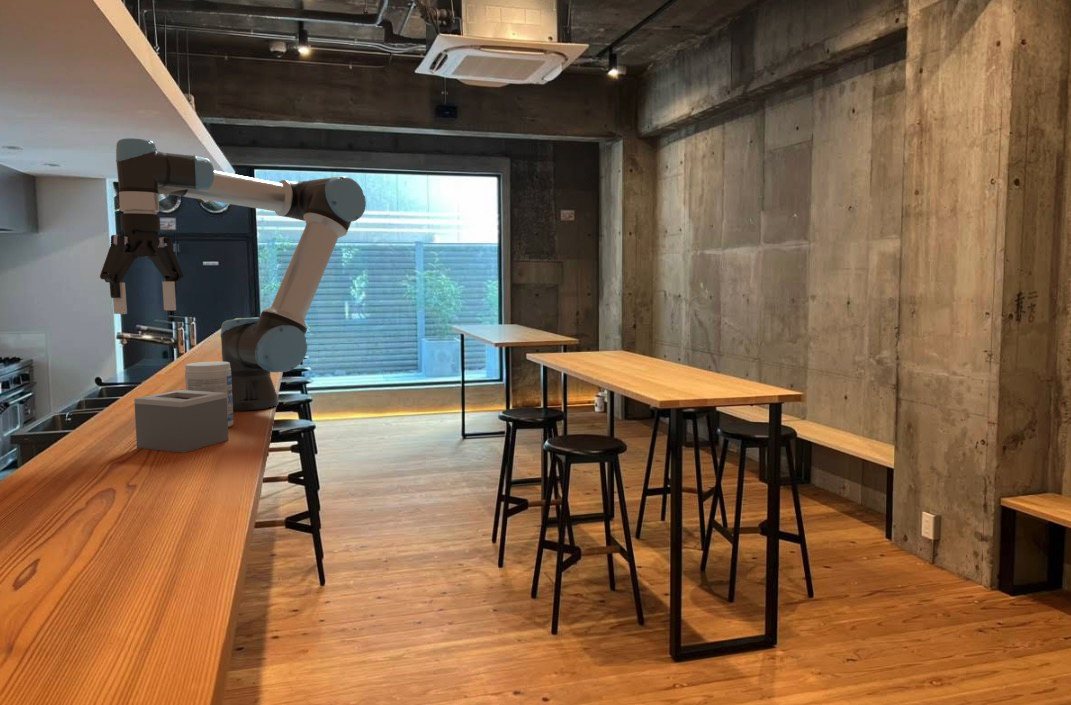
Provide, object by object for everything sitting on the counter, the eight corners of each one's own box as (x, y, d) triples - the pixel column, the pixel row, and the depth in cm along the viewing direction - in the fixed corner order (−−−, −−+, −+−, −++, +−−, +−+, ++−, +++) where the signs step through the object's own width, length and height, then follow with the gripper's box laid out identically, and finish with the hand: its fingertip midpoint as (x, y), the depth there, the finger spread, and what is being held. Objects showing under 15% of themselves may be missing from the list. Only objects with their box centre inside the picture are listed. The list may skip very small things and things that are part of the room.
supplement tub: (240, 427, 168) (237, 363, 166) (196, 433, 161) (194, 367, 160) (223, 421, 175) (221, 359, 173) (181, 427, 168) (178, 363, 167)
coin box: (183, 435, 159) (181, 389, 158) (228, 440, 155) (226, 392, 154) (136, 447, 148) (134, 398, 147) (184, 452, 144) (181, 402, 143)
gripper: (170, 217, 172) (175, 308, 174) (75, 209, 148) (82, 315, 151) (196, 216, 170) (201, 309, 172) (104, 208, 146) (111, 315, 148)
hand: (146, 312), depth 161 cm, fingers open, 13 cm apart
